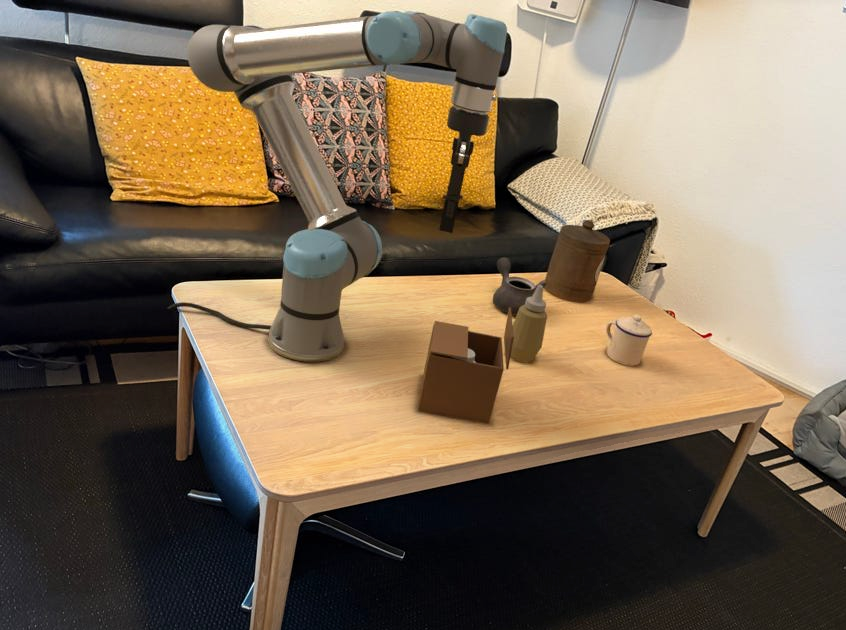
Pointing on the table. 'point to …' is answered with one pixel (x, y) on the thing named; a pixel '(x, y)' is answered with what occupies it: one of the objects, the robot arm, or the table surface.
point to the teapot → (512, 289)
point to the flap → (450, 340)
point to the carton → (466, 378)
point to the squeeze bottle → (529, 327)
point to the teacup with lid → (628, 340)
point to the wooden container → (576, 262)
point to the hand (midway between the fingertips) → (446, 230)
